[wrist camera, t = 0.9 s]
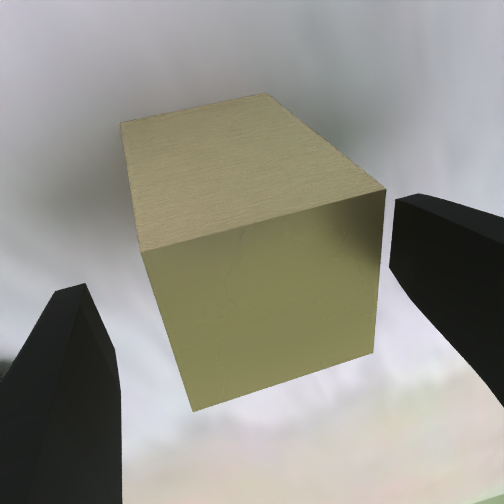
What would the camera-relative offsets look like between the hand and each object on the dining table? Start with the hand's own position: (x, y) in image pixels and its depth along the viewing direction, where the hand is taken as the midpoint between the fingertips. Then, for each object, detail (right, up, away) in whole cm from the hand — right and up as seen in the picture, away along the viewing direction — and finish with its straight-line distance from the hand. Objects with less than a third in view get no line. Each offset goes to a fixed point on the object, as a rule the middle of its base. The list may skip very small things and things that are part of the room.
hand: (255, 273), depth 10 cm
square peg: (-2, +3, +4) cm, 6 cm away
